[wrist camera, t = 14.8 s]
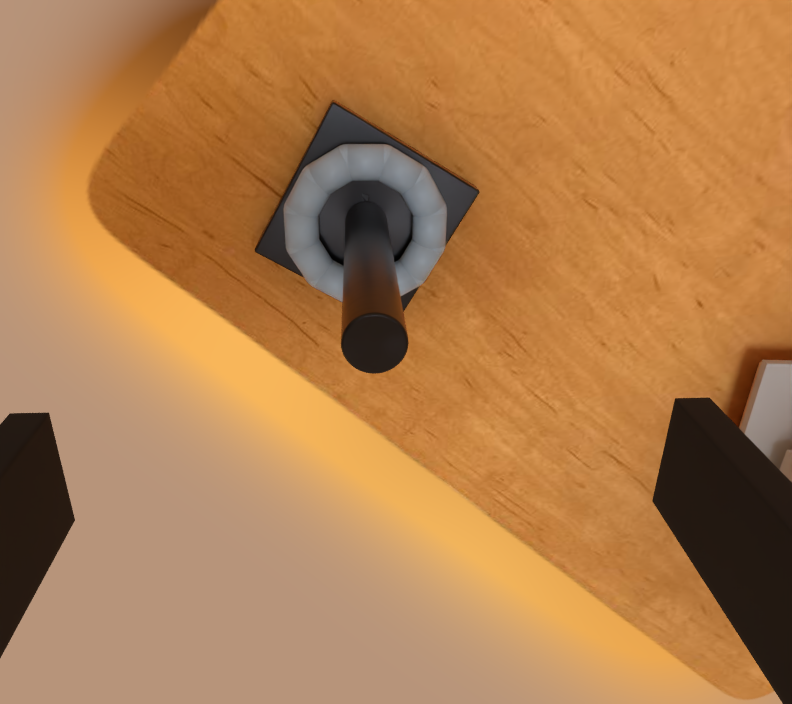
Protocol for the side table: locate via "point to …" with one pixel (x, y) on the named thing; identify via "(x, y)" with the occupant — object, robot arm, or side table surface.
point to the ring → (364, 166)
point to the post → (367, 239)
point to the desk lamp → (771, 413)
